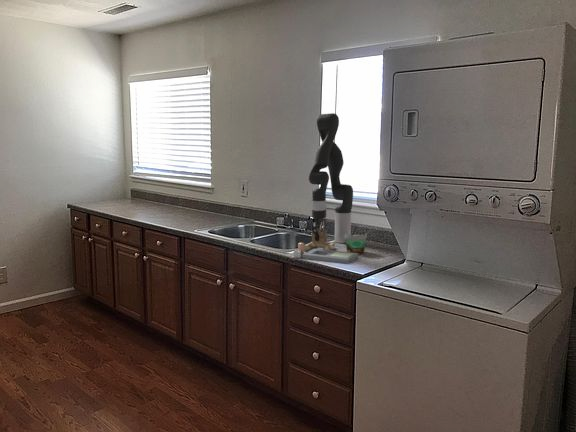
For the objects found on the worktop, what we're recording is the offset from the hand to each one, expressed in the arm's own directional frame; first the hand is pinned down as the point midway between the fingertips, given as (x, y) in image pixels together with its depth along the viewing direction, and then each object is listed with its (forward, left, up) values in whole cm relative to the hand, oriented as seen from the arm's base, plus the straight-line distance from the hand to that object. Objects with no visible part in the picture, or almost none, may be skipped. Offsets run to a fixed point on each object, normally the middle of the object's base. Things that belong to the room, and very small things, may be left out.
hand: (319, 239), depth 274 cm
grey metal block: (+19, -4, -6) cm, 20 cm away
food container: (-2, +21, -6) cm, 22 cm away
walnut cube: (0, 0, -1) cm, 1 cm away
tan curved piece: (-2, 0, -6) cm, 6 cm away
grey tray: (+13, +12, -6) cm, 18 cm away
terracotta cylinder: (+13, -4, -6) cm, 15 cm away
